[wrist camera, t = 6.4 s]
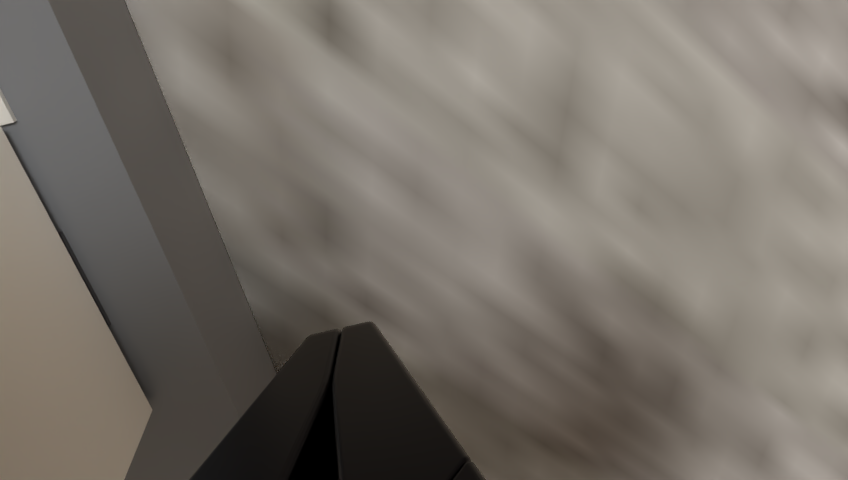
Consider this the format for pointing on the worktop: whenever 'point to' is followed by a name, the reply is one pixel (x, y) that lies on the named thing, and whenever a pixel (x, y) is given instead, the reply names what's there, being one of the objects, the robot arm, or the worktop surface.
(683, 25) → the worktop surface
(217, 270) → the switch panel
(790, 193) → the worktop surface
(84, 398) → the switch handle
